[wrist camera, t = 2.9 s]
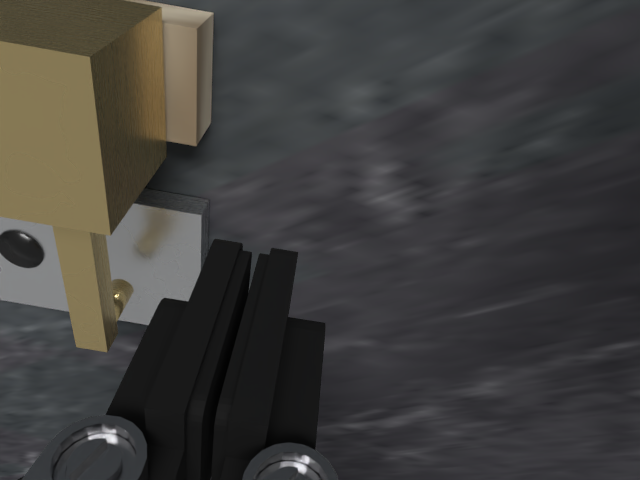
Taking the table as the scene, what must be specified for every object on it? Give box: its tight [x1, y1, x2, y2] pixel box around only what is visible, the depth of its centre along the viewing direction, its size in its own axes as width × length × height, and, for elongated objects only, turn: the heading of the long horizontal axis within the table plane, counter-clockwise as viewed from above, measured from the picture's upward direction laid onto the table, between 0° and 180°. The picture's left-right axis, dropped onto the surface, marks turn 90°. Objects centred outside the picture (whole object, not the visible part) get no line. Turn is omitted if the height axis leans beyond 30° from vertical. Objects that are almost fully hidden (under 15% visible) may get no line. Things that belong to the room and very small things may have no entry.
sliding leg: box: [0, 0, 167, 352], centre depth 17 cm, size 4×12×5 cm, turn 171°
